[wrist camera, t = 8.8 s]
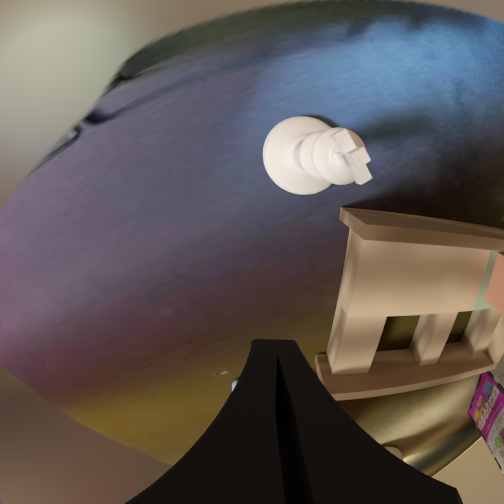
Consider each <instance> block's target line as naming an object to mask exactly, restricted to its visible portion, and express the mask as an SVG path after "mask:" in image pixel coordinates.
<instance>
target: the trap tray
mask: <svg viewBox="0 0 504 504" xmlns="http://www.w3.org/2000/svg"><path fill="white" fill-rule="evenodd" d="M340 220H341V221H342V222H343V223H344V224H346V225H347V226H348V227H349V228H350V230H349V237H348V244H347V251H346V257H345V263H344V269H343V275H342V281H341V286H340V291H339V296H338V302H337V307H336V311H335V316H334V321H333V325H332V330H331V334H330V338H329V343H328V347H327V351H326V354H316V358H315V365H316V370H317V374H318V378H319V379H320V381H321V382H322V383H323V385H324V386H325V387H326V389H327V390H328V391H329V393H330V394H331V395H332V396H333V398H334V399H335V400H336V401H338V400H350V399H360V398H368V397H376V396H383V395H390V394H396V393H402V392H408V391H413V390H418V389H423V388H428V387H432V386H437V385H441V384H445V383H449V382H453V381H457V380H461V379H464V378H468V377H471V376H474V375H478V374H481V373H484V372H487V371H490V370H493V369H495V368H496V366H497V364H498V362H499V361H500V359H501V357H502V355H503V353H504V315H503V314H502V313H501V312H499V311H498V310H497V309H496V308H495V307H494V306H493V305H491V304H490V303H489V302H488V301H487V300H485V299H484V297H485V294H486V291H487V288H488V285H489V282H490V279H491V275H492V272H493V269H494V265H495V261H496V258H497V254H498V253H504V229H501V228H496V227H490V226H484V225H478V224H472V223H466V222H460V221H453V220H447V219H440V218H433V217H425V216H418V215H410V214H402V213H393V212H384V211H375V210H365V209H355V208H344V207H341V210H340ZM472 310H473V312H472V315H471V317H470V320H469V322H468V325H467V327H466V329H465V332H464V334H463V336H462V339H461V341H459V342H453V343H447V344H445V343H446V341H447V339H448V336H449V334H450V332H451V329H452V327H453V324H454V322H455V319H456V316H457V314H458V312H462V311H472ZM407 315H420V318H419V321H418V324H417V326H416V329H415V332H414V335H413V337H412V340H411V342H410V345H409V347H408V349H400V350H390V351H378V352H376V349H377V346H378V343H379V340H380V337H381V334H382V331H383V328H384V325H385V322H386V318H387V316H407Z"/></svg>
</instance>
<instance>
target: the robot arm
mask: <svg viewBox="0 0 504 504" xmlns="http://www.w3.org/2000/svg"><path fill="white" fill-rule="evenodd" d="M0 504H3V503H1V502H0ZM125 504H463V503H462V500H461V497H460V495H459V493H458V491H457V489H456V488H454V487H452V486H450V485H447V484H445V483H443V482H440V481H438V480H436V479H434V478H432V477H430V476H428V475H426V474H424V473H422V472H420V471H418V470H417V469H415V468H413V467H412V466H410V465H408V464H407V463H405V462H404V461H402V460H401V459H399V458H398V457H397V456H395V455H394V454H392V453H391V452H390V451H388V450H387V449H386V448H384V447H383V446H382V445H380V444H379V443H378V442H377V441H375V440H374V439H373V438H372V437H371V436H370V435H369V434H367V433H366V432H365V431H364V430H363V429H362V428H361V427H360V426H359V425H358V424H357V423H356V422H355V421H354V420H353V419H352V418H351V417H350V416H349V415H348V414H347V413H346V412H345V411H344V409H343V408H342V407H341V406H340V405H339V404H338V402H337V401H336V400H335V399H334V398H333V396H332V395H331V394H330V393H329V391H328V390H327V389H326V387H325V386H324V385H323V383H322V382H321V381H320V379H319V378H318V376H317V375H316V374H315V372H314V371H313V369H312V368H311V366H310V365H309V363H308V361H307V360H306V358H305V357H304V355H303V353H302V352H301V350H300V348H299V346H298V344H297V343H296V342H295V341H294V340H269V339H255V340H253V341H252V342H251V349H250V353H249V356H248V359H247V362H246V364H245V367H244V369H243V371H242V373H241V375H240V377H239V380H235V381H233V383H232V393H231V394H230V396H229V398H228V399H227V401H226V403H225V404H224V406H223V408H222V409H221V411H220V412H219V414H218V415H217V416H216V418H215V419H214V421H213V422H212V423H211V425H210V426H209V427H208V429H207V430H206V431H205V432H204V434H203V435H202V436H201V437H200V438H199V440H198V441H197V442H196V443H195V444H194V445H193V446H192V448H191V449H190V450H189V451H188V452H187V453H186V454H185V455H184V456H183V457H182V458H181V459H180V460H179V461H178V462H177V463H176V464H175V465H174V466H173V467H172V468H171V469H169V470H168V471H167V472H166V473H165V474H164V475H163V476H161V477H160V478H159V479H158V480H157V481H156V482H155V483H153V484H152V485H151V486H149V487H148V488H146V489H145V490H144V491H142V492H141V493H139V494H138V495H137V496H135V497H134V498H132V499H131V500H129V501H128V502H126V503H125Z"/></svg>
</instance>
